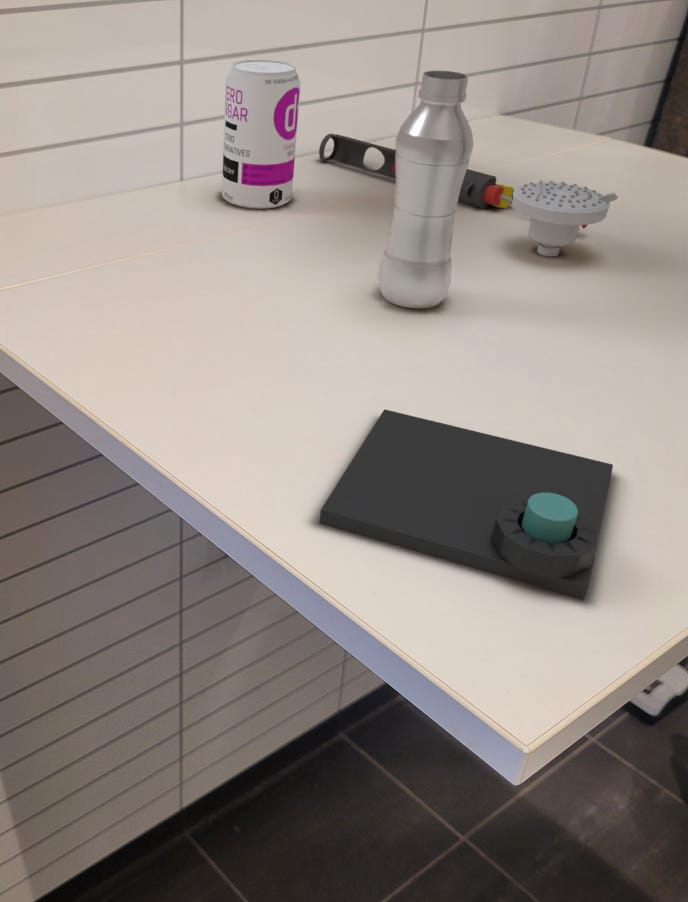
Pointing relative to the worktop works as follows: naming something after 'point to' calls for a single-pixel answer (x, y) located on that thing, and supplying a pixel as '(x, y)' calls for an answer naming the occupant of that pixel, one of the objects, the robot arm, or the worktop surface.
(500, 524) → the scale
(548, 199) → the showerhead
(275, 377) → the worktop surface
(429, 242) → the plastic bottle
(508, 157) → the worktop surface
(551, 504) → the button
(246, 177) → the supplement can
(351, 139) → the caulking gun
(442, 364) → the worktop surface
